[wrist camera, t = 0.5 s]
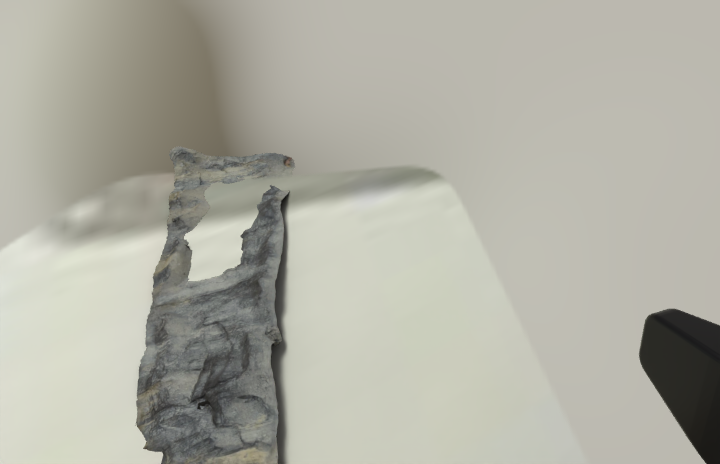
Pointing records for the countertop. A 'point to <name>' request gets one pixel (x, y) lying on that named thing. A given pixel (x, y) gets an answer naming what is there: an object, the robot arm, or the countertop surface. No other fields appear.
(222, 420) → the driftwood
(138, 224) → the countertop surface
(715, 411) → the robot arm
